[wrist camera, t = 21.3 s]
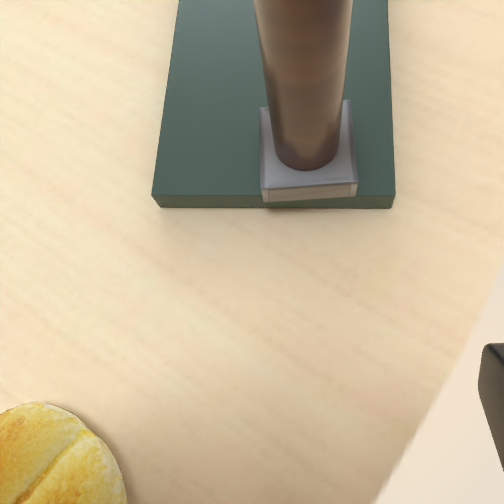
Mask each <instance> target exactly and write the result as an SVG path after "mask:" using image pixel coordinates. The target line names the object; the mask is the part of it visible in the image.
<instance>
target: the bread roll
mask: <svg viewBox="0 0 504 504" xmlns="http://www.w3.org/2000/svg"><path fill="white" fill-rule="evenodd" d="M0 504H127V493H126V488H125V483H124V480H123V476H122V473H121V471H120V469H119V467H118V464H117V461H116V460H115V458H114V456H113V454H112V453H111V451H110V450H109V448H108V446H107V445H106V444H105V442H104V441H102V440H101V439H100V438H99V437H98V436H97V435H95V434H94V433H93V432H92V431H90V430H89V429H88V428H87V427H86V425H85V424H84V423H83V422H82V421H81V420H80V419H79V418H78V417H76V416H75V415H74V414H72V413H70V412H68V411H66V410H64V409H61V408H59V407H56V406H54V405H50V404H45V403H40V402H30V403H26V404H22V405H19V406H17V407H15V408H12V409H9V410H7V411H6V412H4V413H2V414H0Z"/></svg>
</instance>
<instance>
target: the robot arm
mask: <svg viewBox="0 0 504 504" xmlns="http://www.w3.org/2000/svg"><path fill="white" fill-rule="evenodd" d="M478 391H479V395H480V399H481V402H482V406H483V409H484V412H485V415H486V418H487V421H488V424H489V427H490V430H491V433H492V437H493V440H494V443H495V446H496V449H497V452H498V455H499V458H500V461H501V464H502V467H503V471H504V343H490V344H487V345H486V346H485V347H484V349H483V352H482V358H481V365H480V372H479V379H478Z"/></svg>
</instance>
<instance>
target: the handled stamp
mask: <svg viewBox="0 0 504 504" xmlns="http://www.w3.org/2000/svg"><path fill="white" fill-rule="evenodd" d="M352 3H353V0H253V5H254V12H255V18H256V25H257V32H258V39H259V46H260V53H261V59H262V66H263V73H264V80H265V87H266V94H267V101H268V107H261V108H259V149H260V189H261V193H262V197H263V201H264V202H277V201H292V200H306V199H321V198H336V197H349V196H350V197H351V196H356V192H357V187H358V182H359V181H358V171H357V162H356V152H355V142H354V132H353V122H352V112H351V103H350V99H349V100H343V97H344V86H345V76H346V66H347V55H348V45H349V34H350V24H351V14H352Z"/></svg>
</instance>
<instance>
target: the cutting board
mask: <svg viewBox="0 0 504 504" xmlns="http://www.w3.org/2000/svg"><path fill="white" fill-rule="evenodd" d="M349 99H350V103H351V112H352V122H353V132H354V142H355V152H356V162H357V171H358V181H359V182H358V187H357V192H356V196H351V197H350V196H349V197H336V198H321V199H306V200H292V201H277V202H264V201H263V197H262V193H261V189H260V149H259V108H261V107H268V101H267V94H266V87H265V80H264V73H263V66H262V59H261V53H260V46H259V39H258V32H257V25H256V18H255V12H254V5H253V0H179V4H178V11H177V18H176V25H175V32H174V39H173V46H172V53H171V60H170V67H169V74H168V81H167V88H166V95H165V102H164V109H163V116H162V123H161V130H160V137H159V144H158V151H157V158H156V165H155V172H154V179H153V186H152V194H151V195H152V197H153V198H154V200H155V201H156V202H157V204H158V205H159V206H160V207H249V208H391V206H392V203H393V200H394V198H395V195H396V194H395V170H394V146H393V122H392V99H391V75H390V51H389V27H388V4H387V0H353V3H352V14H351V24H350V34H349V45H348V55H347V66H346V76H345V86H344V97H343V100H349Z"/></svg>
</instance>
